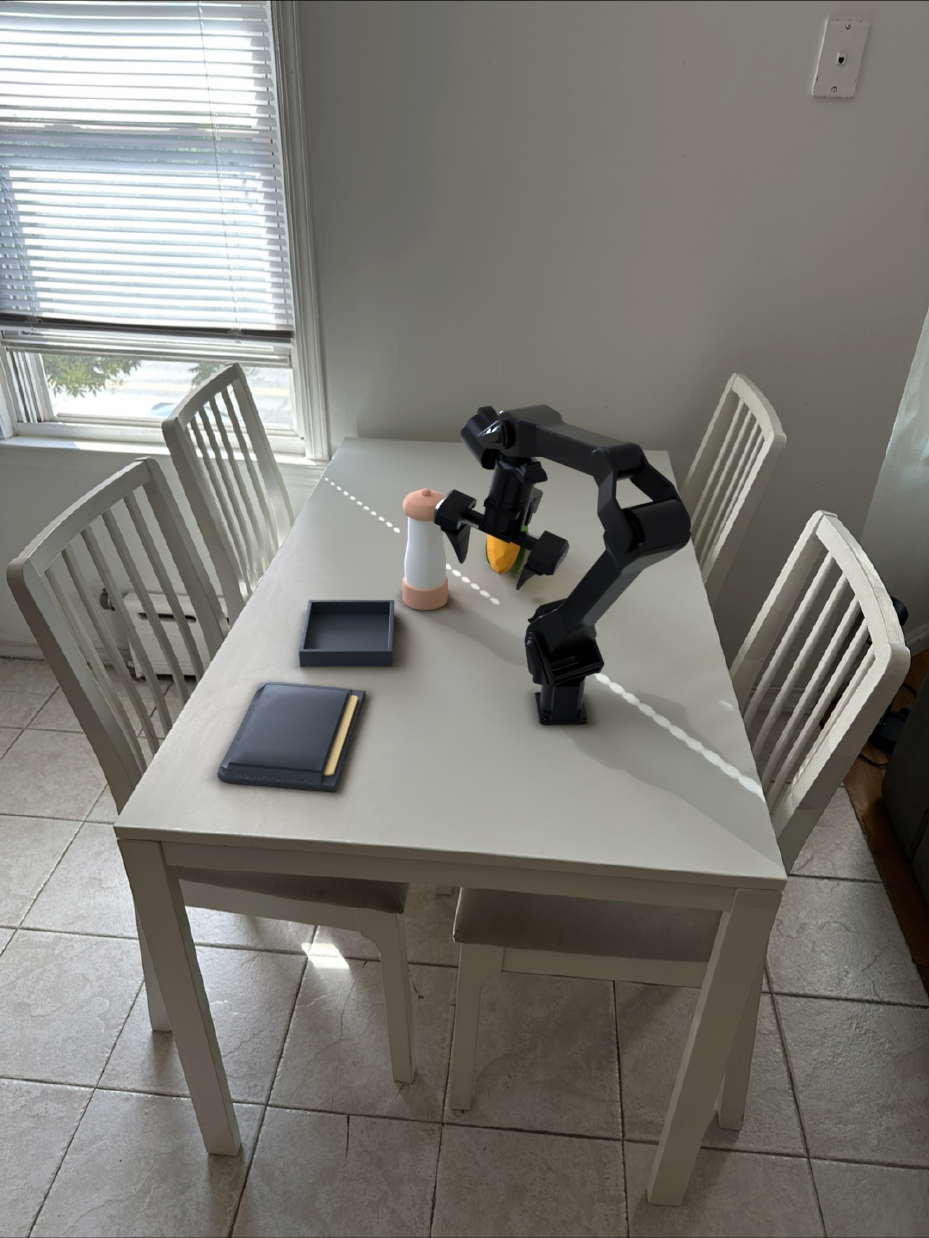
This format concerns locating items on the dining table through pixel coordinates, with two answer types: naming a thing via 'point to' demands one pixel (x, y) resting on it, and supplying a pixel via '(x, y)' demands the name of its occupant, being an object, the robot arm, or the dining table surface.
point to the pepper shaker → (424, 553)
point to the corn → (504, 554)
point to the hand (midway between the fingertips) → (490, 575)
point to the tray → (348, 633)
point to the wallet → (293, 737)
